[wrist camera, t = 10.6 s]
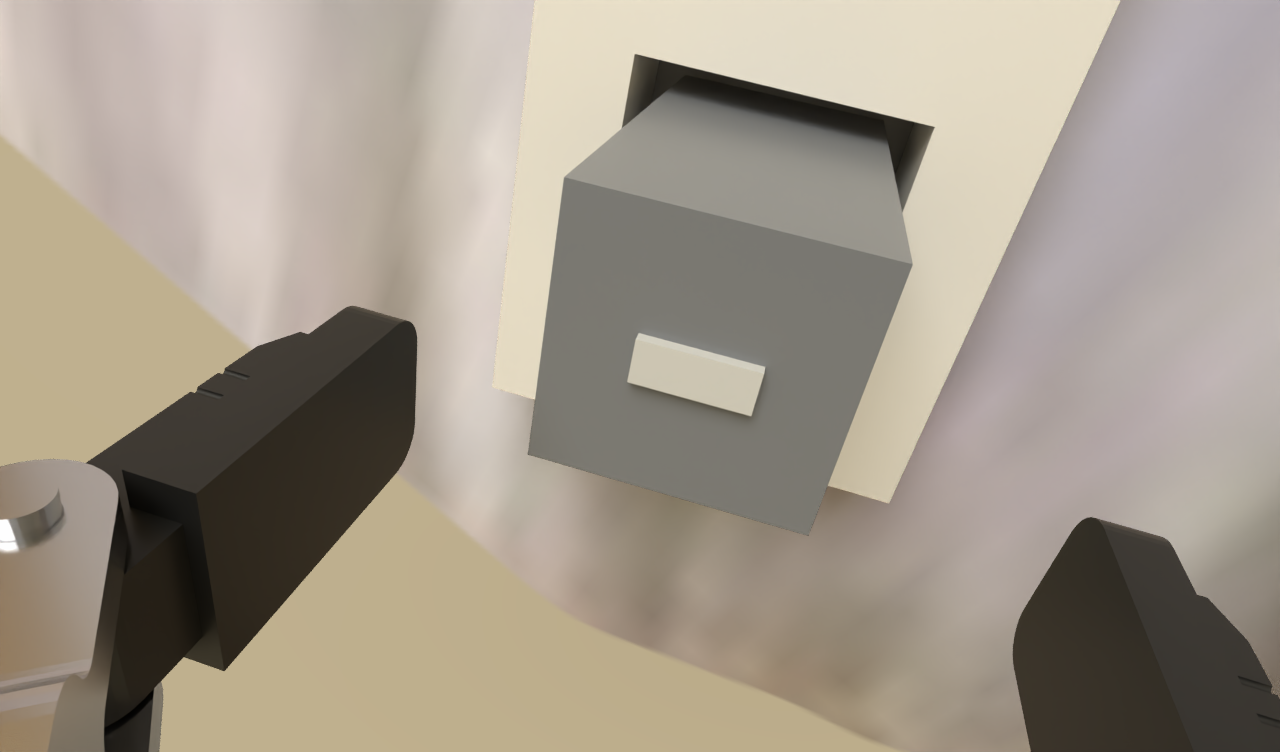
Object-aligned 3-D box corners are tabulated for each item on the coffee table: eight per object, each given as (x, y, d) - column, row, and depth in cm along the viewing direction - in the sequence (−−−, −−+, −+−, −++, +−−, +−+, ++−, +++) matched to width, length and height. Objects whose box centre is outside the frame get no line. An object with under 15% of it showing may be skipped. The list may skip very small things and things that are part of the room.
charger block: (883, 120, 17) (913, 269, 10) (823, 302, 20) (807, 544, 12) (685, 74, 18) (559, 180, 10) (649, 257, 20) (523, 461, 12)
